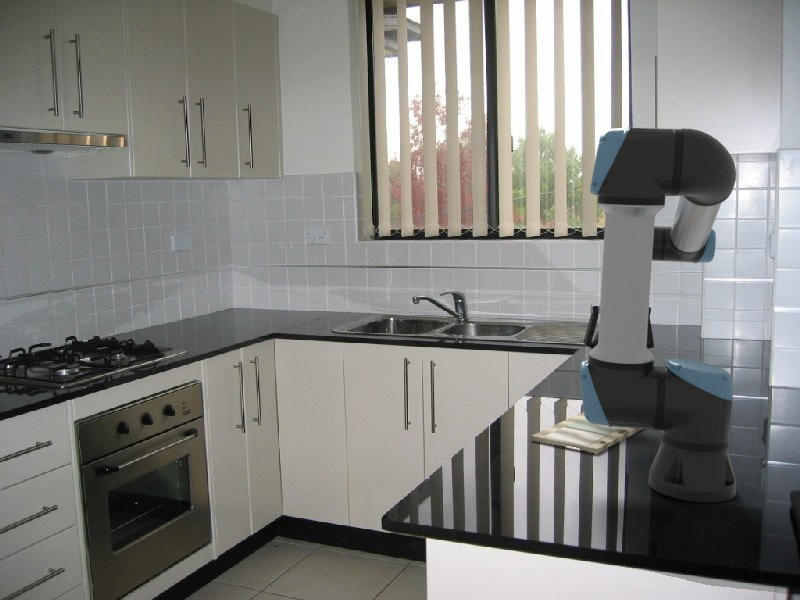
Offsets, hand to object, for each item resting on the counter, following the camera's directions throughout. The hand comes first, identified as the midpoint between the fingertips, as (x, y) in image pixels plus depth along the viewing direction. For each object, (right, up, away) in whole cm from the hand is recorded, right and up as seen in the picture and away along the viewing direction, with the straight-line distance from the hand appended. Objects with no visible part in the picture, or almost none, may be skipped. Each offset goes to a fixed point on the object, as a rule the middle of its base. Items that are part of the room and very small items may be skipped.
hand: (616, 376), depth 199 cm
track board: (-7, -12, -8) cm, 16 cm away
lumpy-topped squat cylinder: (+14, -4, +67) cm, 69 cm away
